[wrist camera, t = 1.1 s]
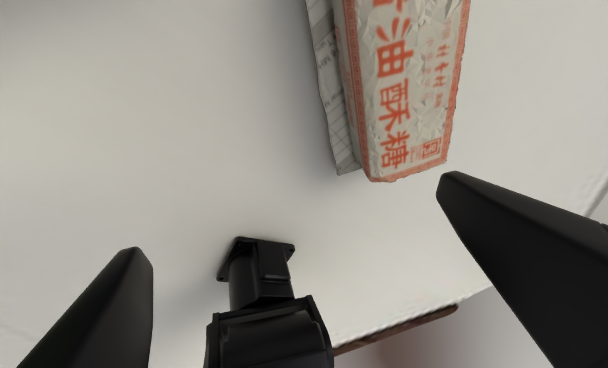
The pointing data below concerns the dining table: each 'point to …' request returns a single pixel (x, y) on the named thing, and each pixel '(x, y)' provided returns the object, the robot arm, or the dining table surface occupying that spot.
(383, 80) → the packaged product
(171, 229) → the dining table surface
